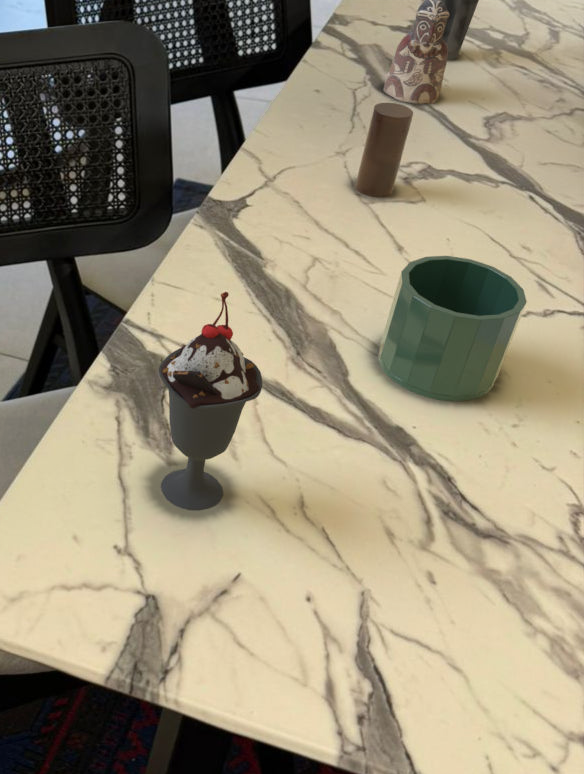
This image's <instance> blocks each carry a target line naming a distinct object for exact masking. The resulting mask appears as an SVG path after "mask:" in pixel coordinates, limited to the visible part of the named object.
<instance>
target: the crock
mask: <svg viewBox="0 0 584 774" xmlns="http://www.w3.org/2000/svg"><path fill="white" fill-rule="evenodd" d="M527 303H528V301H527V297H526V293H525V290H524V288H523V287H522V286H521V285H520V284H519V283H518V282H517V281H516V280H515V279H514V278H513V277H512V276H511V275H509V274H507V273H505V272H504V271H501V270H500V269H498V268H497V267H495V266H493V265H489V264H487V263H483V262H480V261H477V260H474V259H471V258H466V257H457V256H451V255H433V256H424V257H421V258H418V259H415V260H412V261H409V262H408V264H407V265H406V266H405V267H404V268H403V269H402V270H401V271H400V275H399V279H398V281H397V285H396V289H395V291H394V295H393V299H392V302H391V305H390V306H391V307H390V309H389V313H388V316H387V319H386V323H385V327H384V330H383V333H382V337H381V341H380V344H379V350H378V351H379V352H378V356H377V357H378V363H379V366H380V368H381V370H382V371H383V372H384V373H385V375H386V376H387V377H388V378H389V379H390V380H392V381H393V382H394V383H396V384H397V385H399V386H400V387H401V388H403V389H406V390H407V391H409V392H412V393H413V394H417V395H419V396H421V397H425V398H429V399H432V400H437V401H438V400H439V401H443V402H444V401H445V402H466V401H467V402H468V401H472V400H476V399H479V398H481V397H483V396H485V395H486V394H488V393H489V392H490V391H491V390H492V389H493V387H494V385H495V382H496V381H497V379H498V377H499V374H500V371H501V369H502V367H503V364H504V361H505V359H506V357H507V354H508V351H509V349H510V346H511V344H512V341H513V339H514V336H515V334H516V331H517V328H518V326H519V323H520V320H521V319H522V316H523V313H524V311H525V308H526V306H527Z"/></svg>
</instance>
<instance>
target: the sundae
mask: <svg viewBox="0 0 584 774" xmlns="http://www.w3.org/2000/svg"><path fill="white" fill-rule="evenodd" d="M229 296H230V295H229V292H228V291H224V292H223V293H221V294H220V297H221V310H220V312H219V315H217V317H216V319H215V320H214V321H213V323H206V324H204V325H203V327H202V328H201V331H200V334H199V335H197V336H195V337H194V338H191V339H190V341H188V342H187V343H186V344H184V345H182V346H181V347H179V348H178V349H176V350H174V351H172V352H171V353H169V354H168V355H167V356H166V357H165V358H164V359H163V361H161V363H159V367H158V376H159V378H160V380H161V381H162V383H163V384H164V386H165V387H166V388H167V390H168V399H169V400H168V406H169V407H168V416H169V420H168V421H169V431H170V436H171V442H172V443H173V445H174V446H175V447H176V449H177V450H178V451H179V452H180V453H181V454H182V455H184V456H185V457H187V463H186V468H181V469H177V470H173V471H171V472H169V473H168V474H165V476H164V477H163V478H162V480H161V482H160V490H161V493H162V495H163V496H164V498H165V499H166V501H168V502H169V503H170V504H172V505H173V506H175V507H177V508H180V509H182V510H187V511H193V512H194V511H195V512H197V511H198V512H199V511H203V510H210V509H211V508H214V507H216V506H217V505H218V504H220V502H221V501H222V500H223V497H224V488H223V486H222V485H221V483H220V482H219V480H218V479H217V478H216V477H215V476H213V475H212V474H210V473H209V472H207V471H205V464H206V461H207V460H210V459H211V460H212V459H213V458H215V457H218V456H220V455H222V454H224V453H225V452H226V451H227V449H228V448H229V445H230V443H231V441H232V439H233V437H234V435H235V432H236V429H237V427H238V423H239V422H240V417H241V415H242V412H243V409H244V408H245V405H246V404H247V402H250V401H253V400H255V399H257V398H258V397H260V394H261V392H262V389H263V378H262V372H261V370H260V369H259V367H258V366H257V365H256V364H255V363H254V362H253V361H252V360H251V359H249V358H247V357H245V356H244V353H243V352H242V349H240V347H239V346H238V344H237V343H235V342H234V341H233V340H231V339H232V338H233V336H234V332H233V329H232V327H230V326H229V310H228V305H227V302H226V299H227V298H228V297H229ZM224 309H225V310H224ZM223 312H225V313H224V314H225V317H224V319H225V322H224V323H225V324H219V325H217V323H218V322H219V320H220V318H221V317H222V315H223ZM216 325H217V326H216Z"/></svg>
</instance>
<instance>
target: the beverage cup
mask: <svg viewBox="0 0 584 774" xmlns="http://www.w3.org/2000/svg"><path fill="white" fill-rule="evenodd" d="M440 1H442V2H444V3H445V5H446V7H447V10H448V12H449V14H450V15H449V17H448V19H447V23H446V27H445V30H444V33H443V36H442V38H443V39H444V41H445V43H446V45H447V51H448V56H447V61H454V60H456V59H457V57H458V55H459V53H460V50H461V49H462V46H463V43H464V41H465V39H466V36H467V33H468V30H469V28H470V26H471V22H472V20H473V17H474V14H475V12H476V9H477V7H478V5H479V1H480V0H440Z"/></svg>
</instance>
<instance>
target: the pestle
mask: <svg viewBox="0 0 584 774" xmlns="http://www.w3.org/2000/svg"><path fill="white" fill-rule="evenodd" d="M413 117H414V111H413V109H411V108H410V107H409V106H406V105H404V104H400V103H396V102H379V103H377V104H375V105H374V107H373V111H372V114H371V119H370V123H369V127H368V131H367V135H366V140H365V144H364V148H363V152H362V156H361V161H360V165H359V168H358V173H357V176H356V180H355V184H354V188H355V190H356V191H357V192H359V194H362V195H364V196H367V197H372V198H381V199H382V198H387V197H390V196H392V194H393V190H394V187H395V184H396V180H397V177H398V172H399V169H400V165H401V161H402V158H403V153H404V149H405V146H406V142H407V138H408V135H409V131H410V129H411V124H412V120H413Z"/></svg>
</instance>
